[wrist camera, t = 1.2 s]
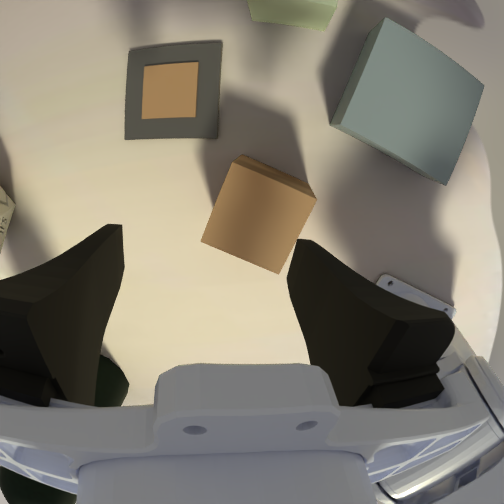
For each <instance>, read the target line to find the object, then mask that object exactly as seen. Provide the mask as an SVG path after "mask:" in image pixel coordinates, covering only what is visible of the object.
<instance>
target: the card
mask: <svg viewBox="0 0 504 504" xmlns="http://www.w3.org/2000/svg"><path fill="white" fill-rule="evenodd" d="M222 47H223V43H200V44H184V45H173V46H163V47H154V48H147V49H140V50H133V51H129V54H128V66H127V80H126V99H125V140H135V139H163V138H215V139H217V137H218V115H219V95H220V77H221V61H222Z"/></svg>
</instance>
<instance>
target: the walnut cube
mask: <svg viewBox="0 0 504 504" xmlns="http://www.w3.org/2000/svg"><path fill="white" fill-rule="evenodd" d="M316 201H317V199H316V197H315V195H314V193H313V191H312V190H311V188H310V186H309V184H308V183H306V182H304V181H301V180H299V179H297V178H295V177H293V176H291V175H288V174H286V173H284V172H282V171H279V170H277V169H275V168H273V167H270V166H268V165H266V164H264V163H261V162H259V161H257V160H254V159H252V158H249V157H247V156H245V155H241V156H239V157H238V158H237V159H236V160H234V161H233V162H232V164H231V166H230V169H229V171H228V173H227V176H226V178H225V181H224V183H223V186H222V188H221V191H220V193H219V195H218V198H217V200H216V203H215V205H214V208H213V211H212V213H211V216H210V218H209V221H208V223H207V226H206V228H205V231H204V234H203V236H202V239H201V242H203V243H205V244H207V245H210V246H212V247H215V248H217V249H219V250H222V251H224V252H226V253H229V254H231V255H234V256H236V257H238V258H241V259H243V260H245V261H248V262H250V263H253V264H255V265H257V266H260V267H262V268H265V269H267V270H269V271H272V272H274V273H276V274H279V273H280V271H281V269H282V267H283V265H284V263H285V261H286V260H287V258H288V256H289V254H290V252H291V250H292V248H293V246H294V244H295V242H296V240H297V238H298V236H299V234H300V232H301V230H302V228H303V226H304V224H305V222H306V221H307V219H308V217H309V215H310V213H311V211H312V209H313V207H314V205H315V203H316Z"/></svg>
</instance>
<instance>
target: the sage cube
mask: <svg viewBox="0 0 504 504" xmlns="http://www.w3.org/2000/svg"><path fill="white" fill-rule="evenodd" d="M247 2H248V6H249V10H250V14H251V18H252V21H260V22H269V23H277V24H284V25H291V26H297V27H303V28H309V29H314V30H319V31H325V29H326V27H327V25H328V23H329V22H330V20H331V18H332V16H333V14H334V12H335V10H336V8H337V2H338V0H247Z"/></svg>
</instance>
